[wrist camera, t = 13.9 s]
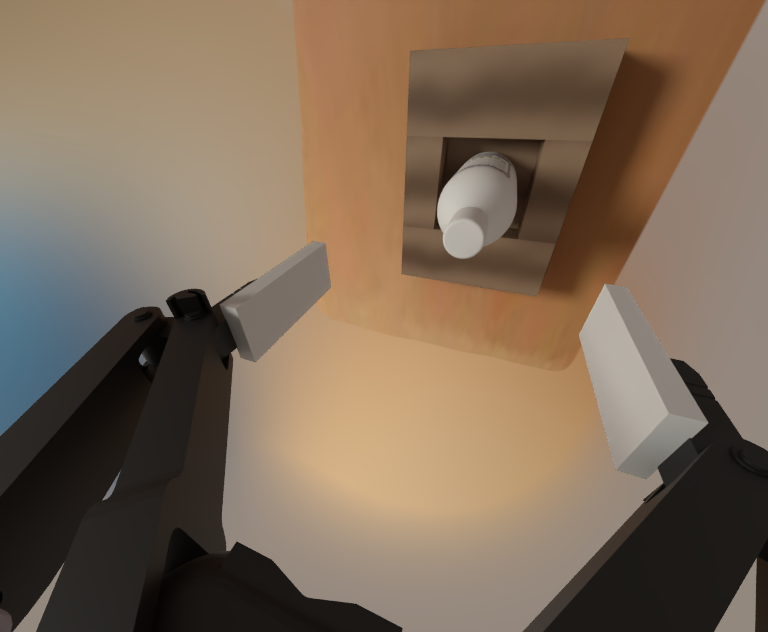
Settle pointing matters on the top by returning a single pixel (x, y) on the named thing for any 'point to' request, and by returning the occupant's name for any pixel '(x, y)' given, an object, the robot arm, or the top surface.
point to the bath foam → (477, 204)
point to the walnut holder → (502, 147)
